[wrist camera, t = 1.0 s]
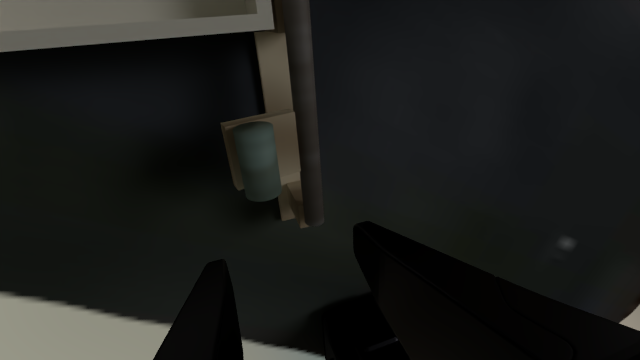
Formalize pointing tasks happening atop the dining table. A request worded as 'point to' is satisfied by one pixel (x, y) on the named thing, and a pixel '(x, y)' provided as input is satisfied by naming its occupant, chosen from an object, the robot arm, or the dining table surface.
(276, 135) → the lever
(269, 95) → the catapult stand
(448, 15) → the dining table surface
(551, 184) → the dining table surface
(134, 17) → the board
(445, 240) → the dining table surface
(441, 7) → the dining table surface
